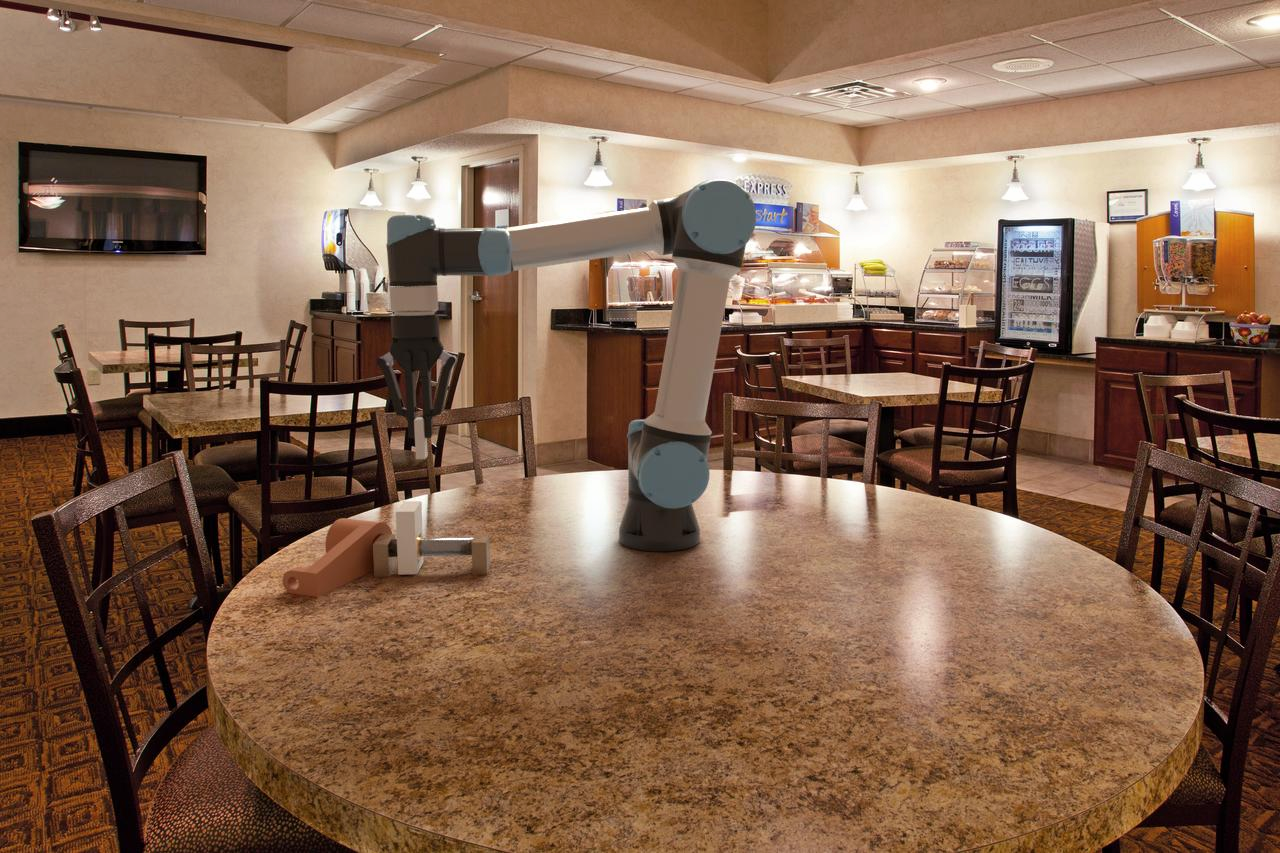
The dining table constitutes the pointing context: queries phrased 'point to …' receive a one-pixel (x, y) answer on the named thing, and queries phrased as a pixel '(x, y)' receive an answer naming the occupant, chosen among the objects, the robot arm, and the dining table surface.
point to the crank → (338, 558)
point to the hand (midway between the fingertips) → (421, 457)
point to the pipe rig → (434, 551)
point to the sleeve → (409, 536)
